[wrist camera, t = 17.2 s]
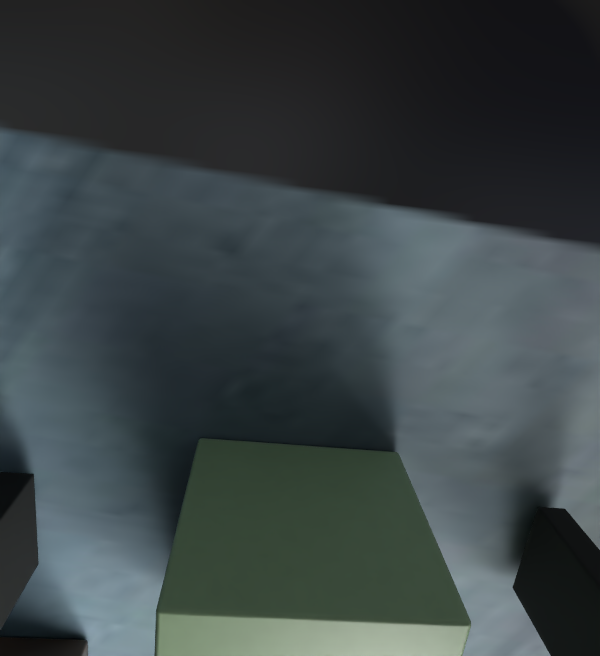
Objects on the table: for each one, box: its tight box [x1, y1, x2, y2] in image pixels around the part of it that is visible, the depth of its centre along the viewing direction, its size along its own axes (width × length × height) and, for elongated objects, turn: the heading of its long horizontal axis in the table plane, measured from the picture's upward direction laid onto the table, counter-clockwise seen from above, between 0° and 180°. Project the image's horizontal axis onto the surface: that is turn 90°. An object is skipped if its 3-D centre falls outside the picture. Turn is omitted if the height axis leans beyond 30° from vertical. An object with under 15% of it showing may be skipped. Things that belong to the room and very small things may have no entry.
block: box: [155, 438, 471, 656], centre depth 11 cm, size 5×5×5 cm
